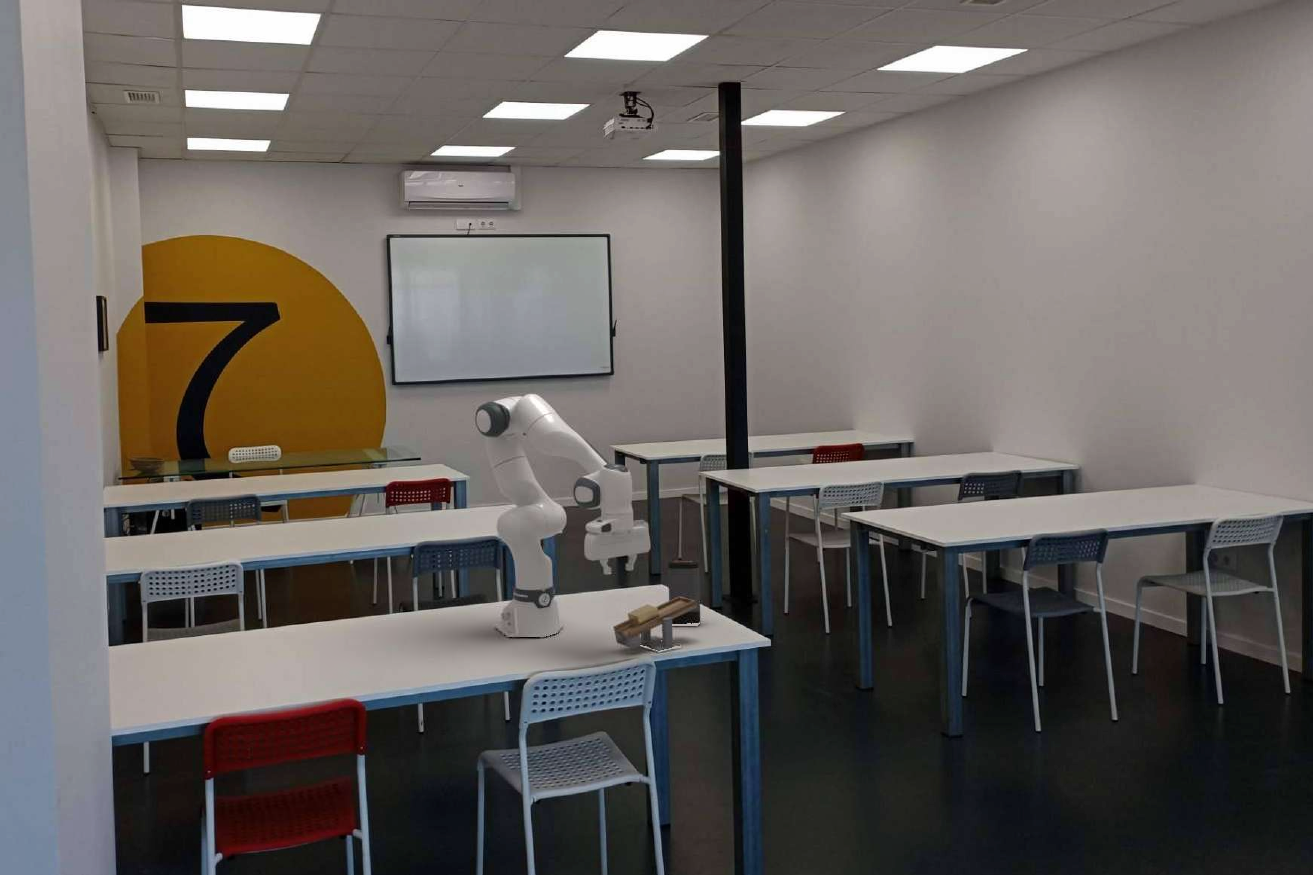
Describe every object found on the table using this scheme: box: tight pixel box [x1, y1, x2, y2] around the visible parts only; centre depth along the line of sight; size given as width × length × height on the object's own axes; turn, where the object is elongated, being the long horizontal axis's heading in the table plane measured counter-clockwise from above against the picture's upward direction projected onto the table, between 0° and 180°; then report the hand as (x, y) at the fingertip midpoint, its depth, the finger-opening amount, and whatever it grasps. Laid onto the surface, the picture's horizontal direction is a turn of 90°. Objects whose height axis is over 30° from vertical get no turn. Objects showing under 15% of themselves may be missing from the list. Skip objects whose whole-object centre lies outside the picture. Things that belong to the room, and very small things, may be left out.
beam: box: [613, 596, 697, 650], centre depth 322 cm, size 8×24×5 cm, turn 126°
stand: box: [640, 617, 682, 651], centre depth 322 cm, size 13×8×9 cm, turn 36°
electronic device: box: [667, 558, 701, 624], centre depth 345 cm, size 9×6×20 cm, turn 84°
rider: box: [627, 604, 659, 627], centre depth 319 cm, size 5×7×4 cm
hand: (618, 572), depth 313 cm, fingers open, 6 cm apart
